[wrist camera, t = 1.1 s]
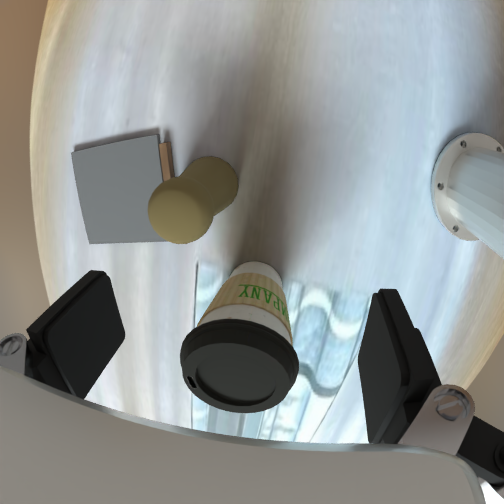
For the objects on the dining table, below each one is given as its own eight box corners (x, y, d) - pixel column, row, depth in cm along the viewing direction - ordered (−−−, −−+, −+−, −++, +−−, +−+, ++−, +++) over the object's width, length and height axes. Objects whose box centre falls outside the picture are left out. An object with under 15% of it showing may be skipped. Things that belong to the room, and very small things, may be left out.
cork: (182, 209, 33) (138, 250, 23) (183, 154, 30) (134, 174, 20) (236, 214, 32) (212, 260, 22) (240, 158, 30) (215, 179, 20)
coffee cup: (301, 315, 37) (303, 415, 23) (224, 321, 38) (195, 415, 25) (292, 240, 33) (292, 330, 19) (205, 252, 35) (156, 337, 21)
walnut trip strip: (170, 141, 30) (166, 142, 29) (182, 230, 34) (178, 234, 33) (163, 142, 30) (159, 143, 29) (175, 230, 34) (171, 234, 33)
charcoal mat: (159, 134, 30) (156, 134, 29) (173, 239, 34) (171, 241, 34) (74, 151, 31) (71, 152, 31) (91, 242, 36) (89, 244, 35)
